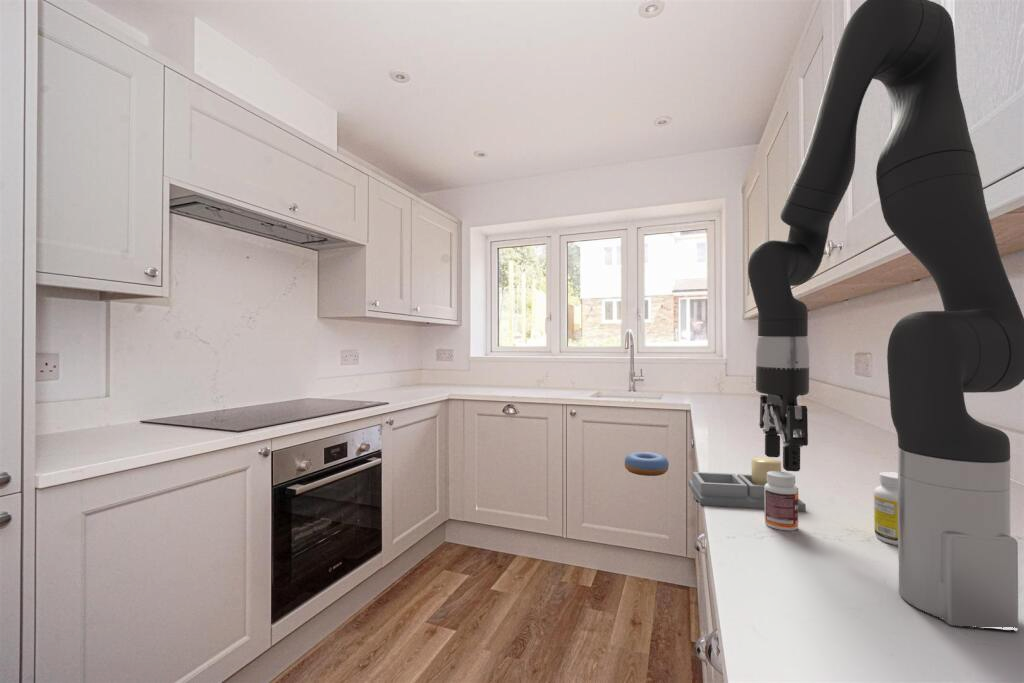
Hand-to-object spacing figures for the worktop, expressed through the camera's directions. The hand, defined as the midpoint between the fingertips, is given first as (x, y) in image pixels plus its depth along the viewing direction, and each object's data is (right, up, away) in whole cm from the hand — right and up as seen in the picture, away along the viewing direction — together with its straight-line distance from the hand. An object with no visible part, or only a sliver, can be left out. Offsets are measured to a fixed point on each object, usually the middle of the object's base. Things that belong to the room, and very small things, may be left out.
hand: (781, 463), depth 77 cm
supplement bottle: (+14, -10, -6) cm, 18 cm away
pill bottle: (0, -10, -1) cm, 10 cm away
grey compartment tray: (0, -10, +14) cm, 17 cm away
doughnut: (-13, -11, +32) cm, 37 cm away
